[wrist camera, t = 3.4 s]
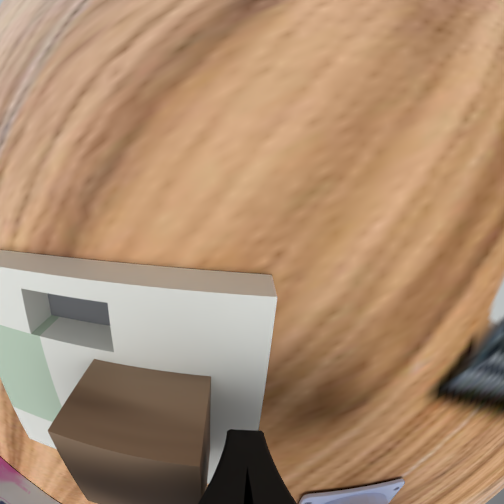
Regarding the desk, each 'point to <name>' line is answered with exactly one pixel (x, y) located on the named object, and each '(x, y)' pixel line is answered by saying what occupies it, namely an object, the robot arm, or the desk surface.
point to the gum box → (19, 488)
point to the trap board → (132, 333)
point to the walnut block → (136, 435)
